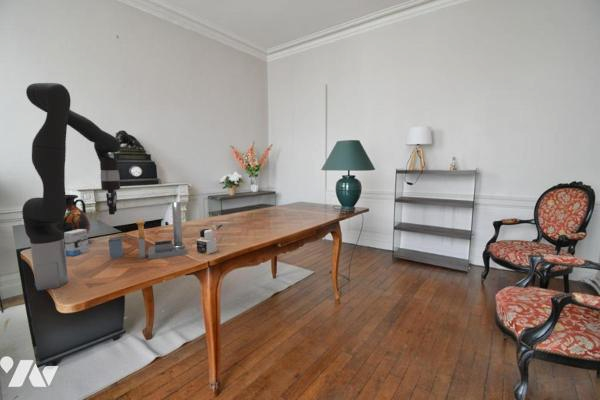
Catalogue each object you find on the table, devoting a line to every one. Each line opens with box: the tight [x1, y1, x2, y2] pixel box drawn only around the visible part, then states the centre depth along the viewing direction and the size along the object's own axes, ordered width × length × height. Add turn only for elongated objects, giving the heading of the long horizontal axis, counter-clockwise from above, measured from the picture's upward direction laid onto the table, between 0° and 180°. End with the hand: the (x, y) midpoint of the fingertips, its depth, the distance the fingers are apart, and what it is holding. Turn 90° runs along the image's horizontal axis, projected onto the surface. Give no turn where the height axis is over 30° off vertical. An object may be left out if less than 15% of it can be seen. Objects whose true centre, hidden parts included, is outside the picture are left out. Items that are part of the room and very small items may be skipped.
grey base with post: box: [138, 201, 187, 260], centre depth 141 cm, size 14×21×26 cm
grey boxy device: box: [196, 228, 218, 256], centre depth 144 cm, size 7×7×12 cm
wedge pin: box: [136, 220, 146, 241], centre depth 137 cm, size 4×4×11 cm
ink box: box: [64, 229, 90, 257], centre depth 141 cm, size 8×5×12 cm, turn 168°
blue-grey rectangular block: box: [108, 236, 124, 259], centre depth 137 cm, size 5×5×9 cm
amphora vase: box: [52, 194, 91, 246], centre depth 154 cm, size 22×22×28 cm
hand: (113, 213), depth 135 cm, fingers open, 8 cm apart
